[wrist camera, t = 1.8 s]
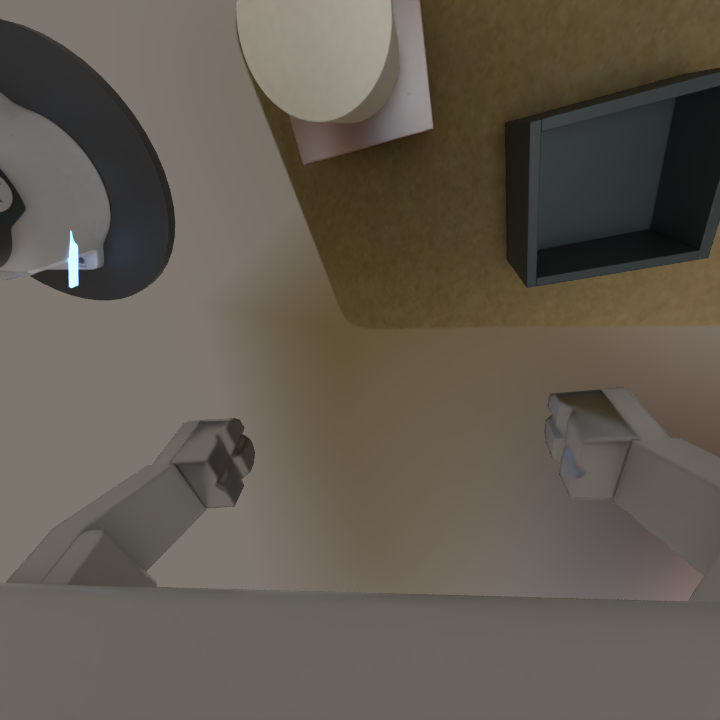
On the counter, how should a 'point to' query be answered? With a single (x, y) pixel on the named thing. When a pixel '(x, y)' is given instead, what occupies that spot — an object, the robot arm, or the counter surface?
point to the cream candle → (321, 55)
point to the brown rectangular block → (397, 116)
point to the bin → (615, 181)
